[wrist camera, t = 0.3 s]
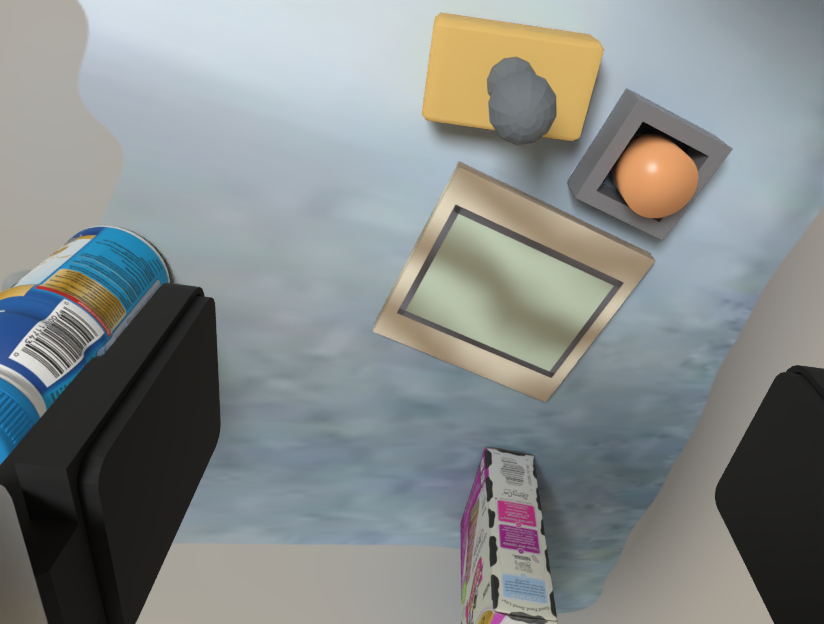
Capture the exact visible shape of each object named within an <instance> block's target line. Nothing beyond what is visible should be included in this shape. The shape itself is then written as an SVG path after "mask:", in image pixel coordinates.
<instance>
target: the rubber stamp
mask: <svg viewBox="0 0 824 624" xmlns="http://www.w3.org/2000/svg"><path fill="white" fill-rule="evenodd" d="M603 51H604V49H603V47H602V45H601V44H600V42H599V41H598V40H597V39H595V38H594V37H592V36H591V35H590V34H583V33H576V32H569V31H563V30H556V29H549V28H542V27H535V26H529V25H522V24H515V23H508V22H501V21H494V20H488V19H481V18H474V17H467V16H460V15H454V14H447V13H440V14H438V15H437V16H436V17H435V19H434V26H433V34H432V41H431V49H430V56H429V64H428V71H427V79H426V86H425V94H424V101H423V109H422V115H423V117H424V118H425V119H426V120H428V121H433V122H440V123H447V124H454V125H461V126H469V127H476V128H483V129H490V130H496V132H497V133H498V135H499V136H500V137H501V138H503V139H505V140H507V141H510V142H512V143H514V144H525V143H533V142H535V141H536V140H538V139H539V138H541V137H546V138H553V139H560V140H567V141H574V140H576V139H578V138H580V135H581V131H582V128H583V124H584V120H585V117H586V113H587V110H588V106H589V102H590V99H591V95H592V91H593V88H594V84H595V80H596V77H597V73H598V69H599V66H600V62H601V58H602V55H603Z"/></svg>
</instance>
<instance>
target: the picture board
mask: <svg viewBox="0 0 824 624" xmlns="http://www.w3.org/2000/svg"><path fill="white" fill-rule="evenodd" d="M654 262H655V260H654V258H653V256H652V255H651V253H649V252H646V251H644V250H642V249H640V248H638V247H636V246H634V245H632V244H630V243H628V242H626V241H624V240H621V239H619V238H617V237H615V236H613V235H611V234H609V233H607V232H605V231H603V230H601V229H599V228H597V227H594V226H592V225H590V224H588V223H586V222H584V221H582V220H580V219H578V218H576V217H574V216H572V215H569V214H567V213H565V212H563V211H561V210H559V209H557V208H555V207H553V206H551V205H549V204H547V203H545V202H542V201H540V200H538V199H536V198H534V197H532V196H530V195H528V194H526V193H524V192H522V191H520V190H517V189H515V188H513V187H511V186H509V185H507V184H505V183H503V182H501V181H499V180H497V179H495V178H492V177H490V176H488V175H486V174H484V173H482V172H480V171H478V170H476V169H474V168H472V167H470V166H468V165H465V164H463V163H461V162H458V164H457V166H456V168H455V170H454V172H453V174H452V176H451V178H450V179H449V181H448V183H447V185H446V187H445V189H444V191H443V193H442V195H441V197H440V199H439V201H438V202H437V204H436V206H435V208H434V210H433V212H432V214H431V216H430V218H429V220H428V222H427V223H426V225H425V227H424V229H423V231H422V233H421V235H420V237H419V239H418V241H417V243H416V245H415V246H414V248H413V250H412V252H411V254H410V256H409V258H408V260H407V262H406V264H405V266H404V268H403V269H402V271H401V273H400V275H399V277H398V279H397V281H396V283H395V285H394V287H393V289H392V291H391V292H390V294H389V296H388V298H387V300H386V302H385V304H384V306H383V308H382V310H381V312H380V314H379V315H378V317H377V319H376V321H375V323H374V328H373V332H376V333H378V334H381V335H383V336H385V337H388V338H390V339H393V340H395V341H398V342H400V343H402V344H405V345H407V346H410V347H412V348H415V349H417V350H420V351H422V352H424V353H427V354H429V355H432V356H434V357H437V358H439V359H441V360H444V361H446V362H449V363H451V364H454V365H456V366H458V367H461V368H463V369H466V370H468V371H471V372H473V373H475V374H478V375H480V376H483V377H485V378H488V379H490V380H493V381H495V382H497V383H500V384H502V385H505V386H507V387H510V388H512V389H514V390H517V391H519V392H522V393H524V394H527V395H529V396H531V397H534V398H536V399H539V400H541V401H544V402H547V400H548V399H549V398H550V396H551V395H552V394H553V392H554V391H555V390H556V389H557V387H558V386H559V385H560V383H561V382H562V381H563V380H564V378H565V377H566V376H567V374H568V373H569V372H570V370H571V369H572V368H573V367H574V365H575V364H576V363H577V361H578V360H579V359H580V358H581V356H582V355H583V354H584V352H585V351H586V350H587V348H588V347H589V346H590V345H591V343H592V342H593V341H594V339H595V338H596V337H597V336H598V334H599V333H600V332H601V330H602V329H603V328H604V326H605V325H606V324H607V323H608V321H609V320H610V319H611V317H612V316H613V315H614V314H615V312H616V311H617V310H618V308H619V307H620V306H621V304H622V303H623V302H624V301H625V299H626V298H627V297H628V295H629V294H630V293H631V292H632V290H633V289H634V288H635V286H636V285H637V284H638V283H639V281H640V280H641V279H642V277H643V276H644V275H645V273H646V272H647V271H648V270H649V268H650V267H651V266H652V264H653V263H654Z"/></svg>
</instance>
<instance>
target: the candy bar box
mask: <svg viewBox="0 0 824 624" xmlns="http://www.w3.org/2000/svg"><path fill="white" fill-rule="evenodd" d="M557 623H558V620H557V615H556V609H555V602H554V595H553V587H552V580H551V575H550V567H549V560H548V553H547V546H546V538H545V533H544V526H543V519H542V512H541V505H540V498H539V491H538V483H537V477H536V470H535V464H534V456H533V455H530V454H525V453H519V452H512V451H507V450H502V449H498V448H490V447H486V448H485V449H484V452H483V455H482V459H481V462H480V465H479V468H478V472H477V475H476V478H475V481H474V484H473V487H472V490H471V493H470V496H469V499H468V502H467V505H466V508H465V512H464V515H463V518H462V521H461V624H557Z"/></svg>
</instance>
